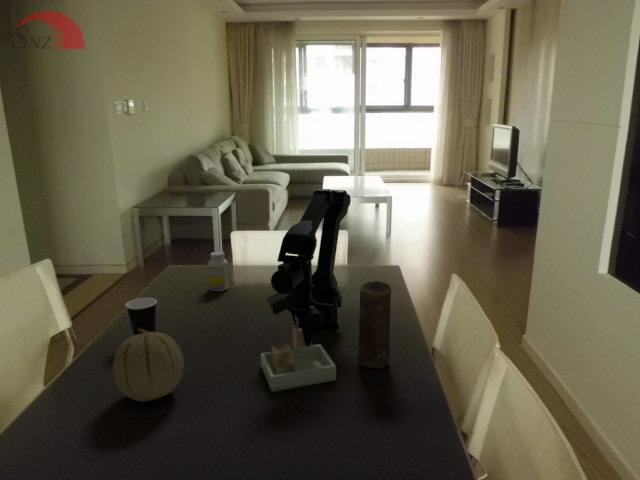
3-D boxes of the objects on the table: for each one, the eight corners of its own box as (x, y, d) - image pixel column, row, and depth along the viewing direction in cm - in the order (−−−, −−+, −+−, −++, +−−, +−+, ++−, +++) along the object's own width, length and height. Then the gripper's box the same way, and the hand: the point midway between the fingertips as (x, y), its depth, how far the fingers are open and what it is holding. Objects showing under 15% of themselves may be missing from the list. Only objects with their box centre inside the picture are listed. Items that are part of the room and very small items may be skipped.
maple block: (289, 366, 122) (288, 343, 121) (294, 374, 119) (293, 350, 117) (272, 369, 121) (271, 346, 120) (277, 377, 118) (276, 353, 116)
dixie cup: (126, 347, 136) (121, 308, 133) (135, 334, 144) (130, 297, 141) (156, 346, 136) (152, 307, 134) (164, 333, 144) (160, 296, 141)
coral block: (308, 344, 136) (307, 323, 134) (312, 350, 132) (311, 329, 131) (293, 346, 135) (292, 325, 133) (297, 353, 131) (296, 331, 130)
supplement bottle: (220, 284, 184) (217, 249, 181) (233, 287, 180) (231, 252, 177) (206, 289, 179) (203, 254, 175) (219, 293, 175) (217, 256, 172)
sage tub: (320, 356, 129) (320, 343, 128) (336, 380, 118) (335, 366, 117) (261, 366, 125) (260, 353, 124) (271, 391, 113) (270, 377, 113)
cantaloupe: (148, 423, 103) (139, 354, 99) (101, 402, 111) (92, 338, 107) (201, 389, 115) (195, 326, 111) (156, 372, 123) (149, 314, 119)
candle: (392, 359, 126) (393, 282, 122) (386, 374, 120) (387, 292, 115) (362, 355, 129) (362, 279, 124) (354, 369, 122) (354, 289, 117)
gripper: (261, 273, 135) (264, 328, 139) (277, 297, 118) (279, 359, 122) (302, 268, 138) (304, 322, 142) (323, 291, 121) (324, 352, 125)
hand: (302, 338), depth 133 cm, fingers open, 9 cm apart
